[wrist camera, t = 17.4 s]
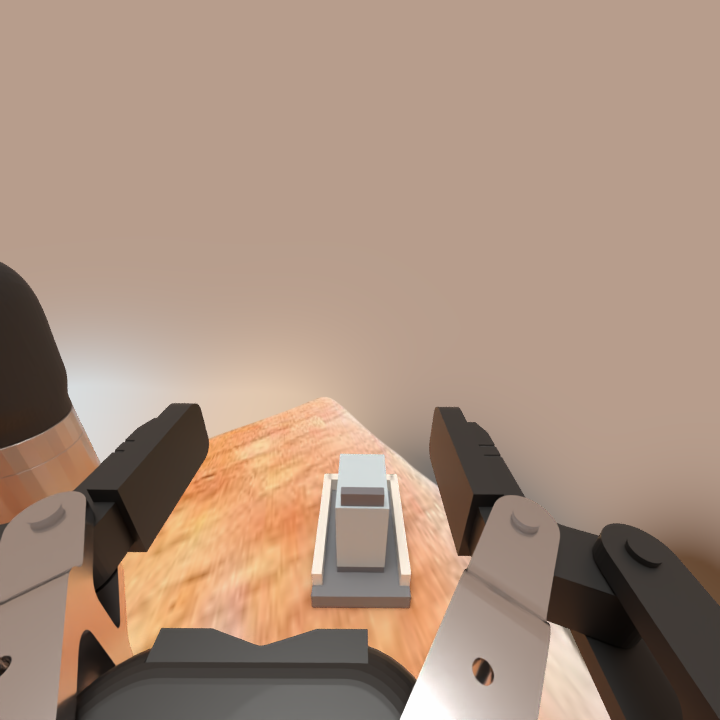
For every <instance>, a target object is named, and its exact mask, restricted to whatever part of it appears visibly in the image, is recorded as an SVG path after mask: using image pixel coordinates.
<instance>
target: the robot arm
mask: <svg viewBox="0 0 720 720" xmlns="http://www.w3.org/2000/svg"><path fill="white" fill-rule="evenodd" d="M429 446H430V447H429V451H430V459H431V463H432V467H433V470H434V474H435V477H436V481H437V484H438V488H439V491H440V495H441V498H442V502H443V505H444V509H445V512H446V516H447V519H448V523H449V526H450V530H451V533H452V537H453V540H454V543H455V547H456V550H457V554H458V556H471V557H472V558H471V561H470V563H469V565H468V567H467V569H465V570H464V572H463V574H462V576H461V578H460V580H459V583H458V585H457V587H456V590H455V592H454V594H453V597H452V599H451V601H450V604H449V606H448V608H447V611H446V613H445V615H444V618H443V620H442V622H441V625H440V627H439V630H438V632H437V634H436V637H435V639H434V641H433V644H432V646H431V648H430V651H429V653H428V655H427V658H426V660H425V662H424V665H423V667H422V669H421V672H420V674H419V676H418V679H417V680H416V679H415V677H414V676H413V675H412V674H411V673H410V672H408V671H407V670H406V669H405V668H404V667H403V666H402V665H401V664H400V663H398V662H397V661H396V660H394V659H393V658H391V657H390V656H388V655H386V654H384V653H383V652H381V651H379V650H377V649H374V648H372V647H369V646H368V630H367V629H316V630H312V631H309V632H306V633H303V634H300V635H296V636H293V637H290V638H287V639H284V640H281V641H277V642H274V643H271V644H268V645H264V646H258V645H255V644H252V643H249V642H247V641H244V640H241V639H239V638H236V637H234V636H231V635H228V634H226V633H223V632H220V631H218V630H215V629H212V628H161V630H160V632H159V634H158V636H157V639H156V641H155V643H154V645H153V647H152V648H151V649H148V650H146V651H144V652H141V653H139V654H137V655H134V656H133V653H132V650H131V647H130V643H129V639H128V631H127V616H126V600H125V584H124V569H123V566H122V564H121V561H122V559H123V558H124V556H125V555H126V554H127V552H147V551H148V549H149V547H150V546H151V544H152V543H153V541H154V539H155V538H156V536H157V535H158V533H159V531H160V530H161V528H162V527H163V525H164V523H165V522H166V520H167V519H168V517H169V516H170V514H171V512H172V511H173V509H174V508H175V506H176V504H177V503H178V501H179V500H180V498H181V496H182V495H183V493H184V492H185V490H186V488H187V487H188V485H189V484H190V482H191V480H192V479H193V477H194V476H195V474H196V472H197V471H198V469H199V468H200V466H201V464H202V463H203V461H204V460H205V458H206V456H207V453H208V449H209V439H208V435H207V431H206V428H205V424H204V420H203V416H202V412H201V408H200V407H199V405H198V404H189V403H187V404H186V403H181V404H180V403H174V404H170V405H169V406H168V407H167V408H166V409H165V410H164V411H163V412H162V413H161V414H160V415H159V416H158V417H157V418H154V419H152V420H150V421H149V422H147V423H145V424H144V425H142V426H140V427H139V428H137V429H136V430H135V431H134V432H133V433H132V434H131V435H130V436H129V437H128V438H127V439H126V441H125V442H123V443H122V444H121V445H120V446H119V447H118V448H117V449H116V450H115V453H111V454H110V456H108V458H106V459H105V460H104V461H103V462H102V463H100V461H99V459H98V457H97V455H96V453H95V451H94V449H93V447H92V444H91V442H90V440H89V438H88V436H87V434H86V432H85V430H84V428H83V426H82V424H81V422H80V420H79V418H78V416H77V414H76V411H75V409H74V407H73V405H72V403H71V400H70V398H69V396H68V390H67V374H66V370H65V366H64V364H63V361H62V359H61V356H60V353H59V351H58V348H57V346H56V343H55V340H54V337H53V335H52V332H51V329H50V327H49V324H48V321H47V319H46V316H45V314H44V311H43V309H42V307H41V305H40V303H39V301H38V299H37V297H36V295H35V294H34V292H33V291H32V289H31V288H30V286H29V285H28V284H27V283H26V281H25V280H24V279H23V278H22V277H21V276H20V275H19V274H18V273H16V272H15V271H14V270H13V269H11V268H10V267H8V266H7V265H5V264H3V263H1V262H0V720H538V714H539V708H540V701H541V695H542V688H543V682H544V675H545V669H546V662H547V656H548V649H549V642H550V624H549V623H548V622H547V621H549V622H552V623H555V624H557V625H560V626H563V627H565V628H568V629H570V630H571V633H572V635H573V637H574V639H575V642H576V644H577V646H578V648H579V650H580V653H581V655H582V657H583V659H584V661H585V664H586V666H587V668H588V670H589V672H590V675H591V677H592V679H593V681H594V683H595V686H596V688H597V690H598V692H599V694H600V697H601V699H602V701H603V703H604V705H605V707H606V710H607V712H608V714H609V716H610V718H611V720H720V606H719V605H718V604H717V603H716V601H715V600H714V599H713V598H712V597H711V596H710V594H709V593H708V592H707V591H706V590H705V589H704V588H703V586H702V585H701V584H700V583H699V582H698V581H697V579H696V578H695V577H694V576H693V575H692V574H691V572H690V571H689V570H688V569H687V568H686V567H685V565H683V563H682V562H681V561H680V560H679V559H678V557H677V556H676V555H675V554H674V553H673V552H672V551H671V550H670V549H669V548H668V547H667V546H665V545H664V544H663V543H662V542H660V541H659V540H658V539H656V538H655V537H653V536H651V535H650V534H648V533H646V532H644V531H642V530H640V529H638V528H635V527H632V526H629V525H625V524H609V525H607V526H605V527H604V528H603V530H602V531H601V533H600V535H599V536H597V535H594V534H591V533H587V532H584V531H580V530H576V529H573V528H569V527H566V526H563V525H560V524H558V523H556V521H555V520H554V518H553V517H552V516H551V515H550V513H549V512H548V511H547V510H546V509H544V508H543V507H542V506H540V505H539V504H537V503H536V502H534V501H532V500H530V499H527V498H525V496H524V494H523V493H522V491H521V489H520V488H519V486H518V484H517V482H516V481H515V479H514V477H513V476H512V474H511V472H510V470H509V469H508V467H507V465H506V464H505V462H504V460H503V458H502V457H500V453H499V451H498V450H497V448H496V447H495V446H494V443H493V441H492V440H491V438H490V436H489V434H488V433H487V432H486V431H485V430H484V429H483V428H481V427H480V426H479V425H478V424H477V423H475V422H467V421H466V419H465V417H464V415H463V413H462V411H461V410H460V408H459V407H436V408H435V411H434V416H433V423H432V430H431V437H430V444H429Z"/></svg>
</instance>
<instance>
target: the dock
mask: <svg viewBox="0 0 720 720" xmlns="http://www.w3.org/2000/svg"><path fill="white" fill-rule="evenodd" d="M336 495H337V490H332V493H331V503H330V513H329V523H328V533H327V543H326V554H325V564H324V574H323V584H322V585H313V586H312V594H311V599H312V607H348V608H409V606H410V600H411V594H410V586H400V583H399V574H398V565H397V555H396V546H395V537H394V528H393V518H392V509H391V500H390V491H389V490H388V500H389V518H388V530H387V542H386V554H385V567H384V573H361V572H337V547H336V514H335V506H336Z"/></svg>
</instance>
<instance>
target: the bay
mask: <svg viewBox="0 0 720 720" xmlns="http://www.w3.org/2000/svg"><path fill="white" fill-rule="evenodd" d="M386 479H387V490H389V491H390V500H391V509H392V518H393V528H394V537H395V546H396V555H397V565H398V574H399V583H400V586H410V579H411V570H410V563H409V556H408V549H407V542H406V535H405V528H404V521H403V514H402V507H401V500H400V493H399V486H398V479H397V474H386ZM337 484H338V474H325V476H324V484H323V491H322V499H321V506H320V514H319V521H318V529H317V537H316V544H315V552H314V559H313V567H312V584H313V585H322V584H323V574H324V564H325V554H326V543H327V533H328V523H329V513H330V503H331V493H332V490H337Z"/></svg>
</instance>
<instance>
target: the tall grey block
mask: <svg viewBox="0 0 720 720" xmlns="http://www.w3.org/2000/svg"><path fill="white" fill-rule="evenodd" d="M335 514H336V547H337V572H361V573H384V567H385V554H386V542H387V530H388V518H389V500H388V490H387V479H386V468H385V457H384V455H376V454H340V461H339V473H338V484H337V495H336V506H335Z"/></svg>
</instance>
